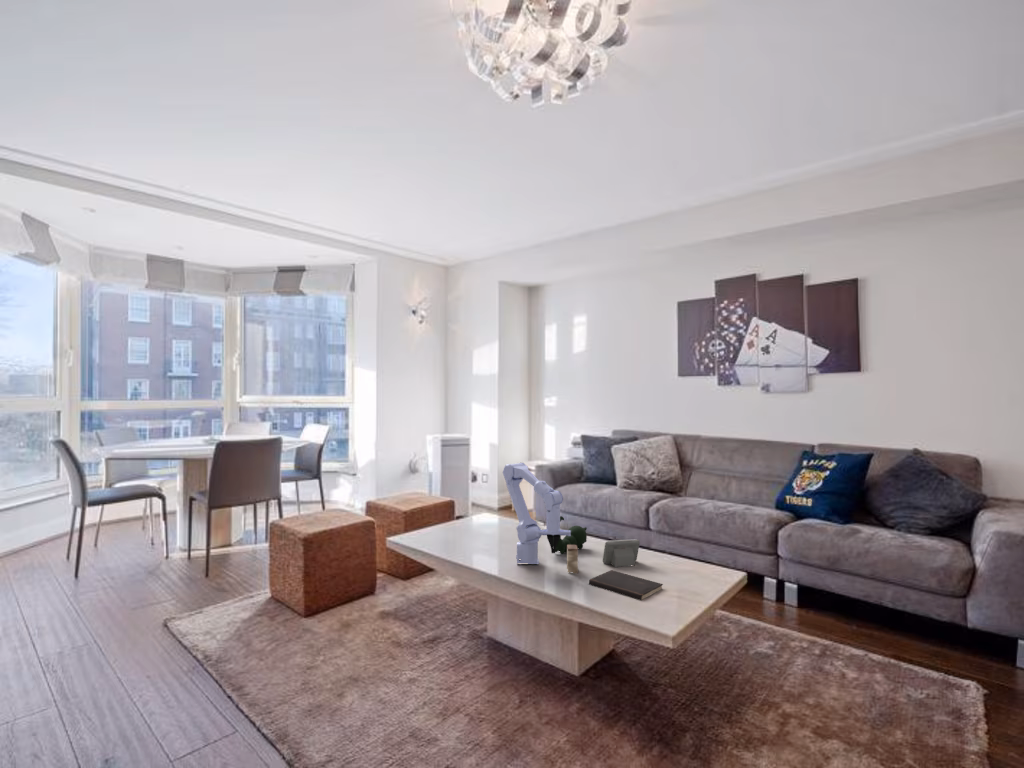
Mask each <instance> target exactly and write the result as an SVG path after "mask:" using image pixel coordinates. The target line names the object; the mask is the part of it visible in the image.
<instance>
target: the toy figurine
mask: <svg viewBox="0 0 1024 768" xmlns="http://www.w3.org/2000/svg"><path fill="white" fill-rule="evenodd" d="M562 521H565V517H564V516H561V515H560V523H561V522H562ZM587 529H588V528H587V527H586V526H585V527H582V526H580V525H572V526H571V527H569V529H568V530H570V531H571V536H563V538H562V536H561V535H560V539H559V541H558V543H557V546H556V550H555V553H558V552H559V551H560V552H559V553H560V554H561V555H563V554H567V545H577V548H579V549H578V550H580V549H583V548H584V545H585V543H587V541H588V540H587V538H588V536H587ZM553 545H554V538H553Z"/></svg>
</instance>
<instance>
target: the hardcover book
mask: <svg viewBox="0 0 1024 768" xmlns="http://www.w3.org/2000/svg"><path fill="white" fill-rule="evenodd" d="M590 584H591V585H590ZM588 585H590V586H593V585H594V586H593V587H596V586H597V588H601V589H604V590H606V589H607V591H609V590H610V591H609V592H612V591H613V592H612V593H616V594H619V595H623V596H625V597H629V598H632V599H636V600H639V601H642V600H644V599H646V598H648V597H649V596H651V595H653V594H655V593H657V592H659V591H660V590H662V589H663V588H662V586H663V585H664V584H663V583H660V582H657V581H654V580H653V581H652V580H649V579H646V578H641V577H638V576H634V575H631V574H628V573H627V574H626V573H623V572H620V571H616V570H612V569H610V570H608V571H606V572H604V573H602V574H599V575H596V576H595V577H592V578H590V579H589V581H588ZM656 591H657V592H656Z"/></svg>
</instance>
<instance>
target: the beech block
mask: <svg viewBox="0 0 1024 768" xmlns="http://www.w3.org/2000/svg"><path fill="white" fill-rule="evenodd" d="M578 557H579V549H578V548H577V545H567V552H566V569H568V571H567V573H568V572H573V573H572V574H579V572H578V571H579V570H578V569H579V564H578V563H579V561H578Z"/></svg>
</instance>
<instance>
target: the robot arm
mask: <svg viewBox="0 0 1024 768" xmlns="http://www.w3.org/2000/svg"><path fill="white" fill-rule="evenodd" d="M502 475H503V477H504V480H505V485H506V489H507V491H508V494H509V496H510V499H511V503H512V505H513V508H514V511H515V513H516V516H517V520H518V522H519V523H518V524H517V526H516V531H517V532H516V533H517V538H518V540H519V541H517V542H516V556H515V558H516V564H517V563H528V564H540V563H539V558H538V557H539V556H538V555H539V554H538V553H539V552H538V550H539V549H538V546H539V545H538V544H539V543H538V542H539V541H540V539H541V538H542V536H546V539H547V541H548V543H549V546H550V550H551V554H556V552H555V550H556V546H557V543H558V541H559V539H560V535H561V537H562V536H563V537H565V536H571V531H570V530H569V529H561V522H560V516H561V504H562V503H563V500H564V497H563V493H562V492H561V491H560V490H555V489H554V488H553V487H551V486H550V485H549V484H547V482H546V480H539V479H538V478H537V477H536V476H535V475H534V473H532V472H531V471H530V469H529V466H528V465H527V464H525V463H524V462H517V463H507V464H505V465H504V467H503V470H502ZM523 480H525V481H526V482H527V483H528V484H529V485H531V486H533V490H534V492H535V493H536V494H537V495H538V496H540V497H541V498H542V499H543V503H544V505H545V510H546V529H541V527H540V526H539V524H538V523H537V521H536V520H534V519H533V518H531V515H530V512H529V509H528V506H527V504H526V503H527V502H526V501H525V498H524V495H523V493H522V490H521V487H520V485H521V483H522V481H523ZM553 538H554V545H553ZM519 559H521V560H519Z"/></svg>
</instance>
